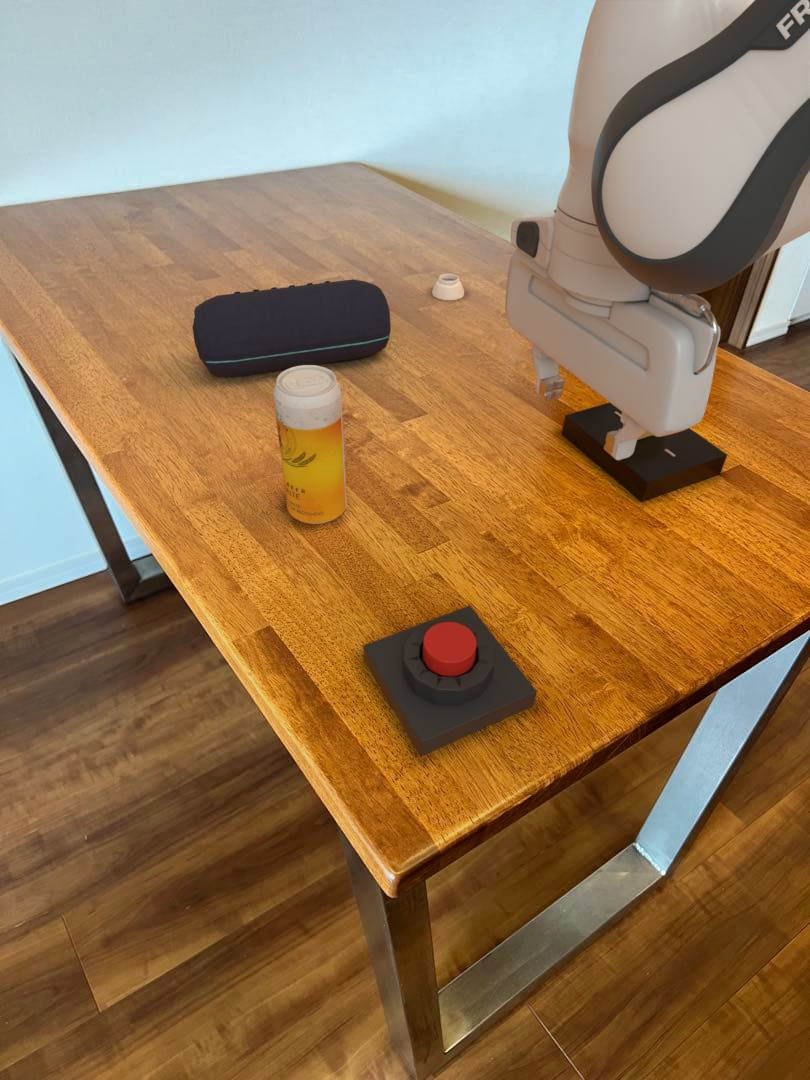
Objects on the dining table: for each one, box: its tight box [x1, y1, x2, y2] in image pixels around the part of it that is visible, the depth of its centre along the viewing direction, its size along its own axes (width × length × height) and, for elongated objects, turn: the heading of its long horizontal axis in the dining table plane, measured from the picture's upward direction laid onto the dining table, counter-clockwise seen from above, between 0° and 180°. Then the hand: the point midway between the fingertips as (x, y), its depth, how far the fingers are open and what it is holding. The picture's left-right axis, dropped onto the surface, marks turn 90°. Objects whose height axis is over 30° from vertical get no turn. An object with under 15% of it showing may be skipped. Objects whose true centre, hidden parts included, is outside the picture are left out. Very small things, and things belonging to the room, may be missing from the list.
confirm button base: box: [362, 605, 538, 757], centre depth 57 cm, size 10×10×4 cm
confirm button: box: [423, 622, 476, 677], centre depth 56 cm, size 4×4×2 cm
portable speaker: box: [191, 278, 392, 377], centre depth 94 cm, size 25×10×10 cm, turn 109°
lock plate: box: [561, 401, 728, 503], centre depth 81 cm, size 14×11×3 cm
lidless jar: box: [431, 273, 465, 301], centre depth 113 cm, size 5×3×5 cm
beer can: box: [272, 365, 348, 525], centre depth 70 cm, size 6×6×15 cm
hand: (580, 423), depth 59 cm, fingers open, 8 cm apart
